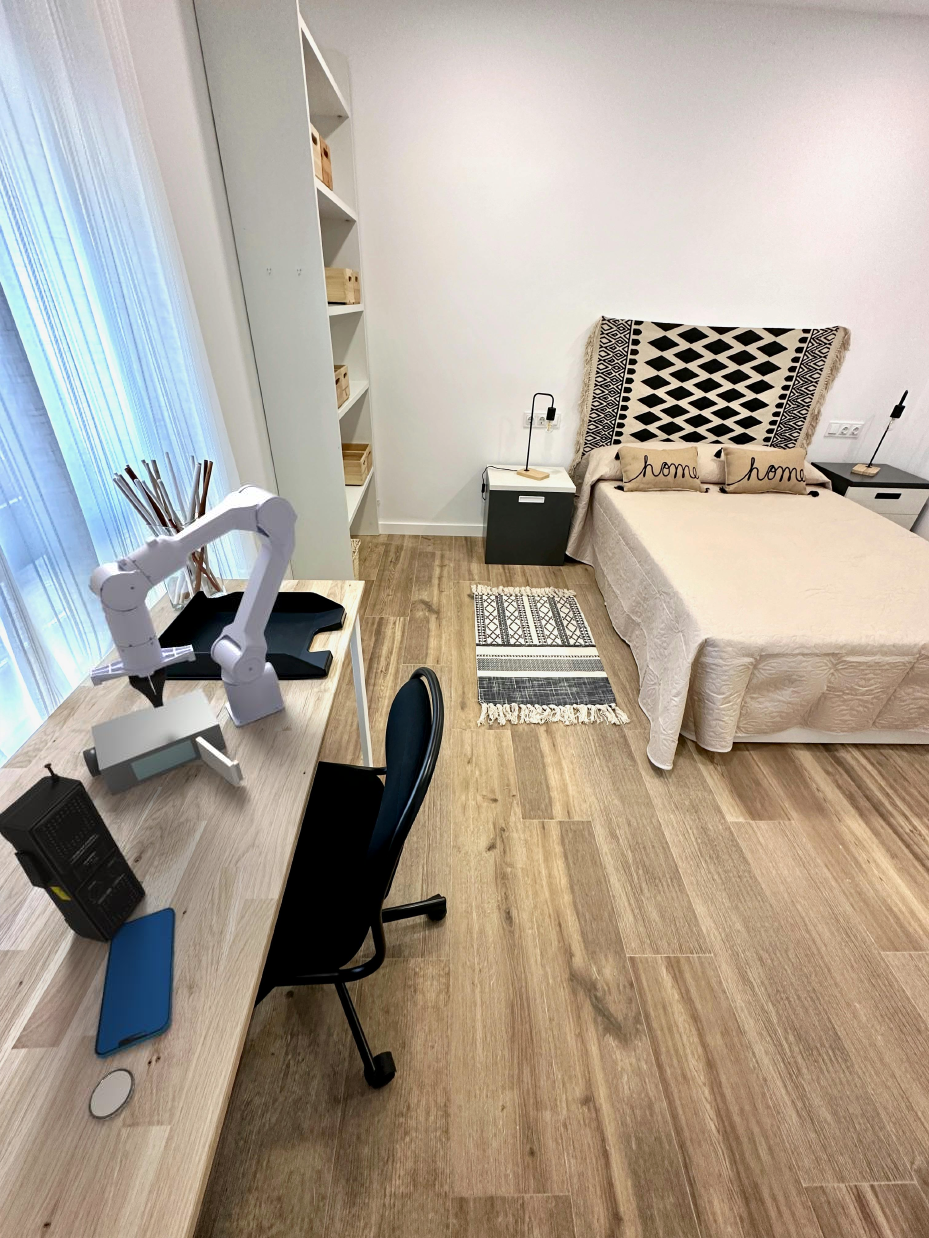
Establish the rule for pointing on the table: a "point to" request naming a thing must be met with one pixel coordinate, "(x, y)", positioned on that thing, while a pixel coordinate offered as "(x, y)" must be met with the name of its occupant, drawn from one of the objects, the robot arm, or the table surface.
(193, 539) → the robot arm
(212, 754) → the side door
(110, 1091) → the white round disc
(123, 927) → the smartphone
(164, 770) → the camera housing
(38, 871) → the portable radio
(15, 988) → the table surface
